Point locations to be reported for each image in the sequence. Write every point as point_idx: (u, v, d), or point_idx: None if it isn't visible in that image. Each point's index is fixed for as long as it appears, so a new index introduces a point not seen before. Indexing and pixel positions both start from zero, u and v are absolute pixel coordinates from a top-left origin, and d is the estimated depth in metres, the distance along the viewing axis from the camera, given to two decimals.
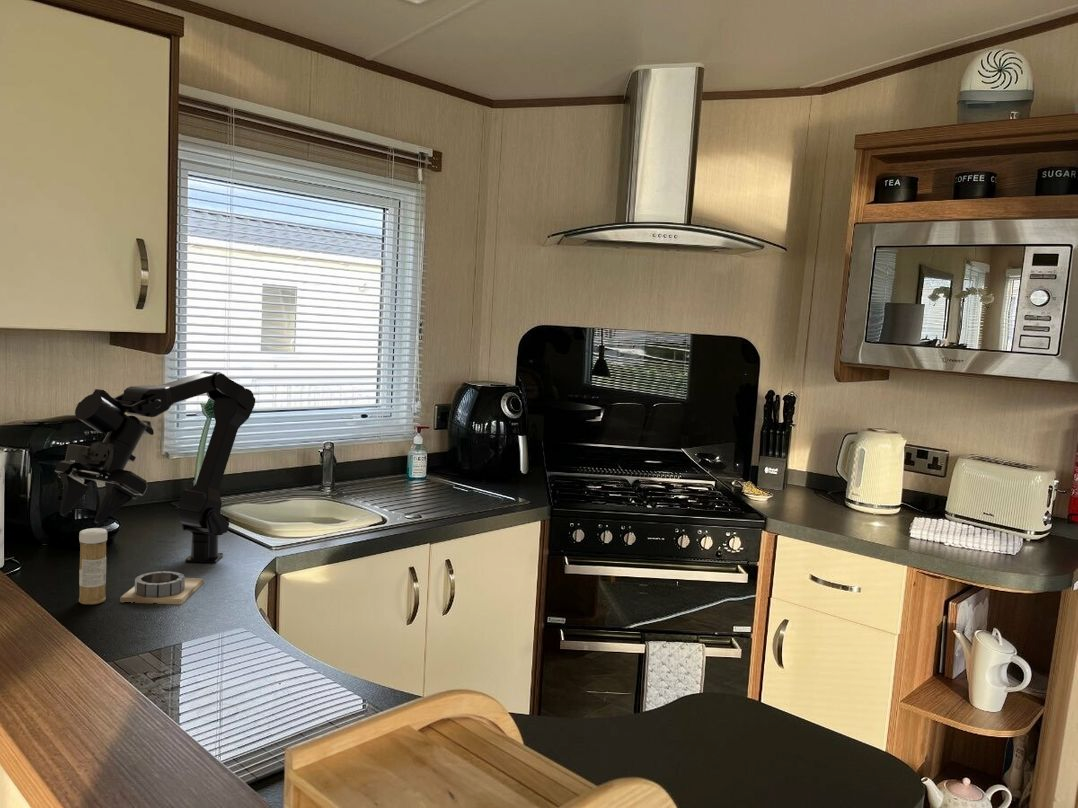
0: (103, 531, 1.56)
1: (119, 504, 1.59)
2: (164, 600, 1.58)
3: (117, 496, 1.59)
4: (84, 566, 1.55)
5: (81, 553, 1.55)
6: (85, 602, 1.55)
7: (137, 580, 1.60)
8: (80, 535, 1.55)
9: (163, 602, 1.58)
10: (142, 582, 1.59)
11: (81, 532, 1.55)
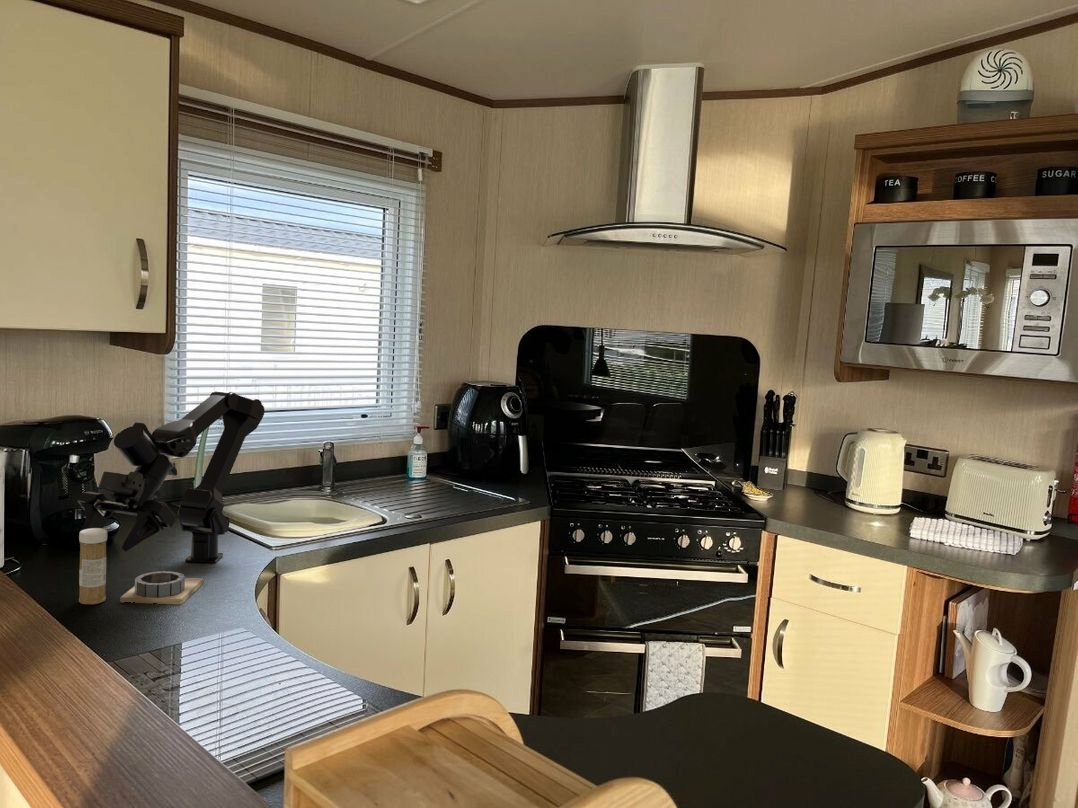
0: (103, 531, 1.56)
1: (146, 535, 1.61)
2: (164, 600, 1.58)
3: (145, 527, 1.61)
4: (84, 566, 1.55)
5: (81, 553, 1.55)
6: (85, 602, 1.55)
7: (137, 580, 1.60)
8: (80, 535, 1.55)
9: (163, 602, 1.58)
10: (142, 582, 1.59)
11: (81, 532, 1.55)
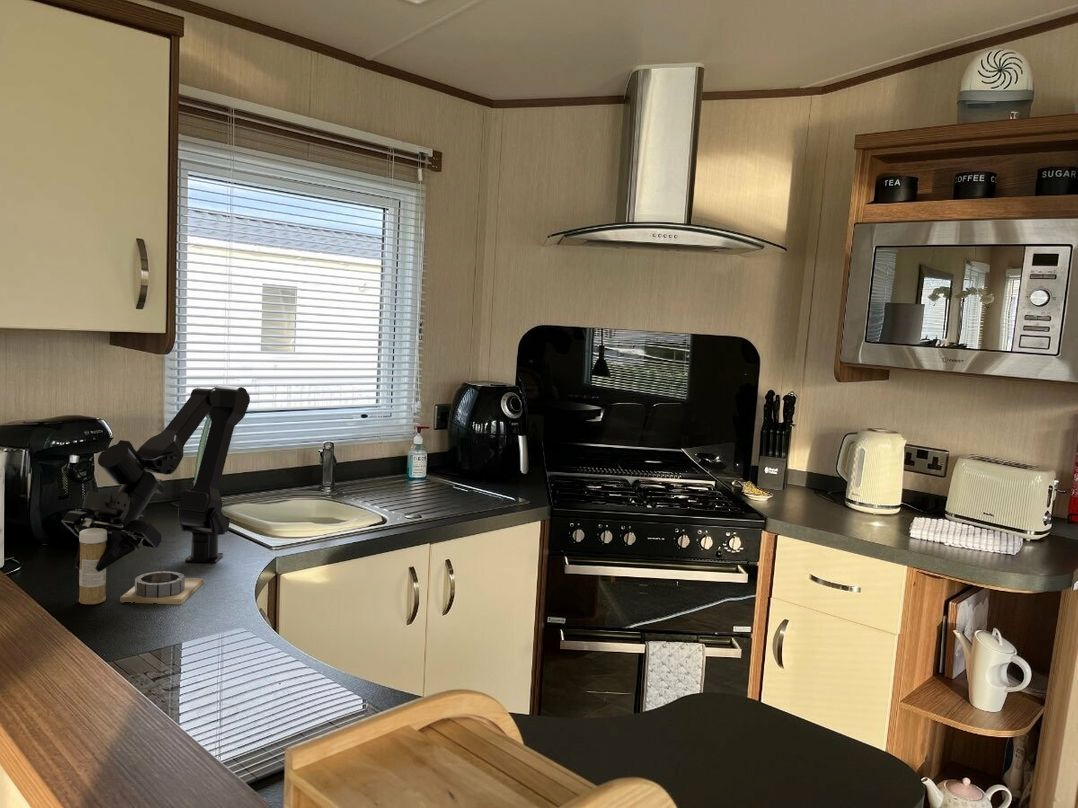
0: (103, 531, 1.56)
1: (121, 554, 1.58)
2: (164, 600, 1.58)
3: (120, 546, 1.58)
4: (84, 566, 1.55)
5: (81, 553, 1.55)
6: (85, 602, 1.55)
7: (137, 580, 1.60)
8: (80, 535, 1.55)
9: (163, 602, 1.58)
10: (142, 582, 1.59)
11: (81, 532, 1.55)
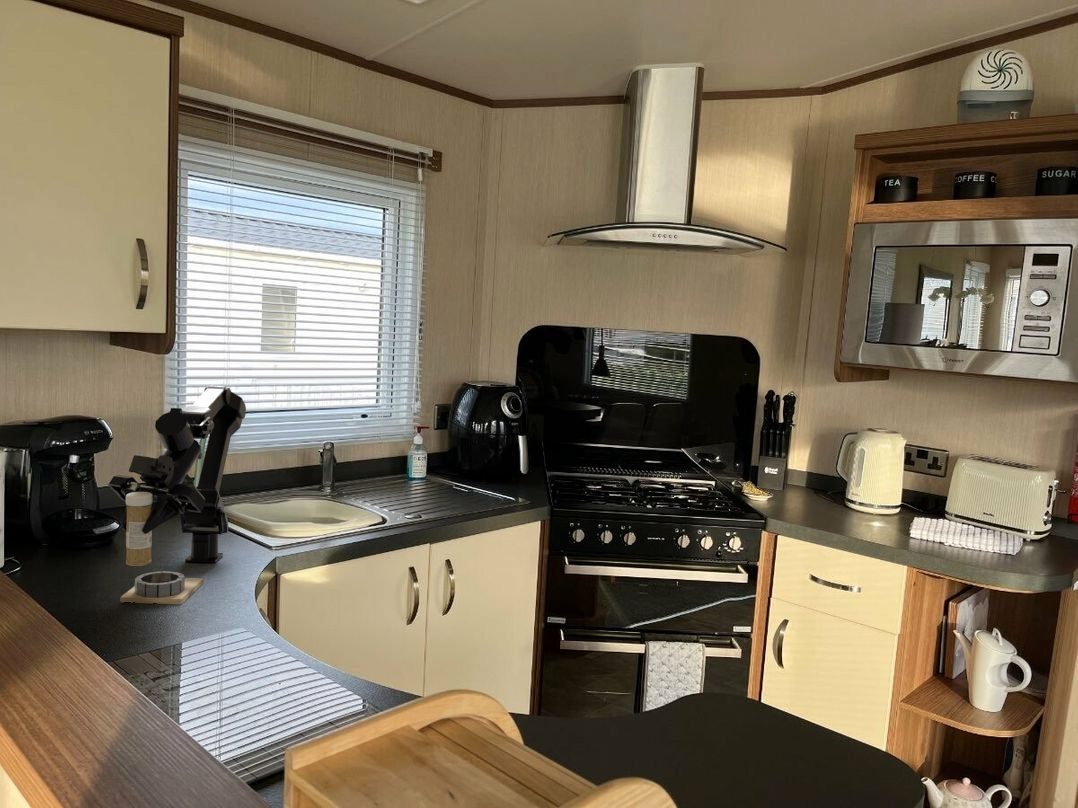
0: (148, 494, 1.59)
1: (166, 517, 1.61)
2: (164, 600, 1.58)
3: (165, 509, 1.62)
4: (131, 528, 1.58)
5: (128, 516, 1.58)
6: (132, 564, 1.59)
7: (137, 580, 1.60)
8: (126, 498, 1.58)
9: (163, 602, 1.58)
10: (142, 582, 1.59)
11: (127, 495, 1.58)
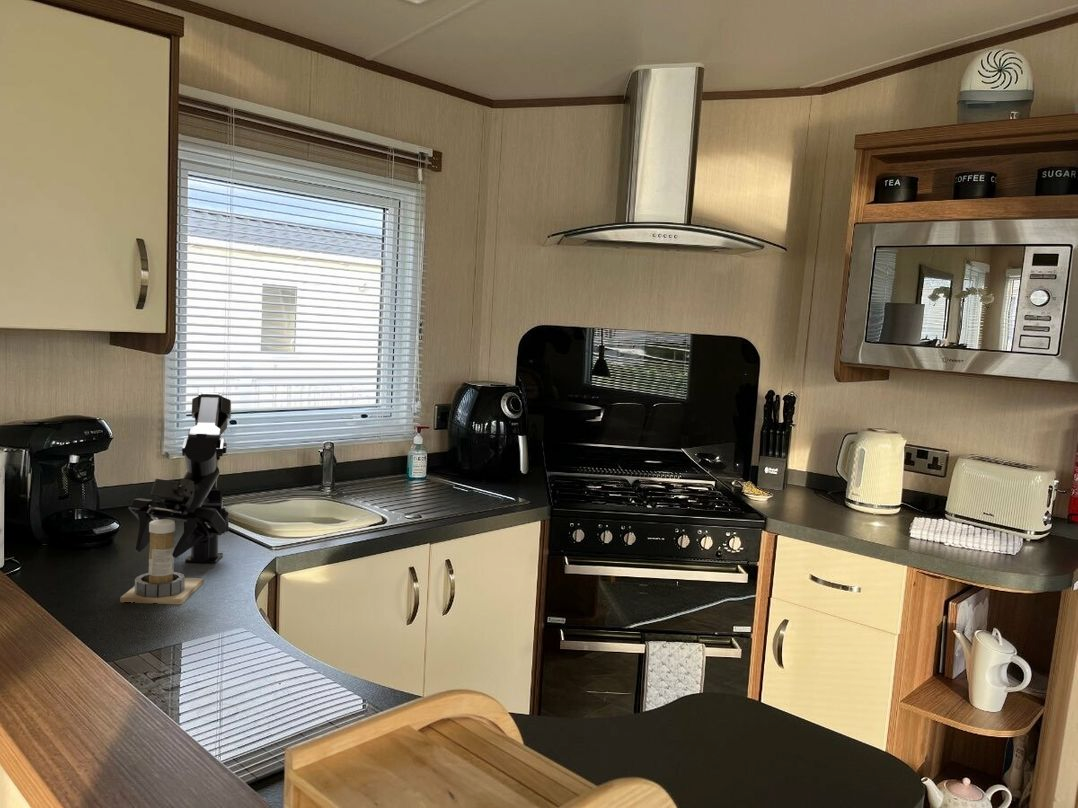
0: (172, 522, 1.62)
1: (195, 541, 1.63)
2: (164, 600, 1.58)
3: (194, 533, 1.63)
4: (154, 555, 1.60)
5: (151, 543, 1.60)
6: None
7: (137, 580, 1.60)
8: (150, 526, 1.60)
9: (163, 602, 1.58)
10: (142, 582, 1.59)
11: (151, 523, 1.60)
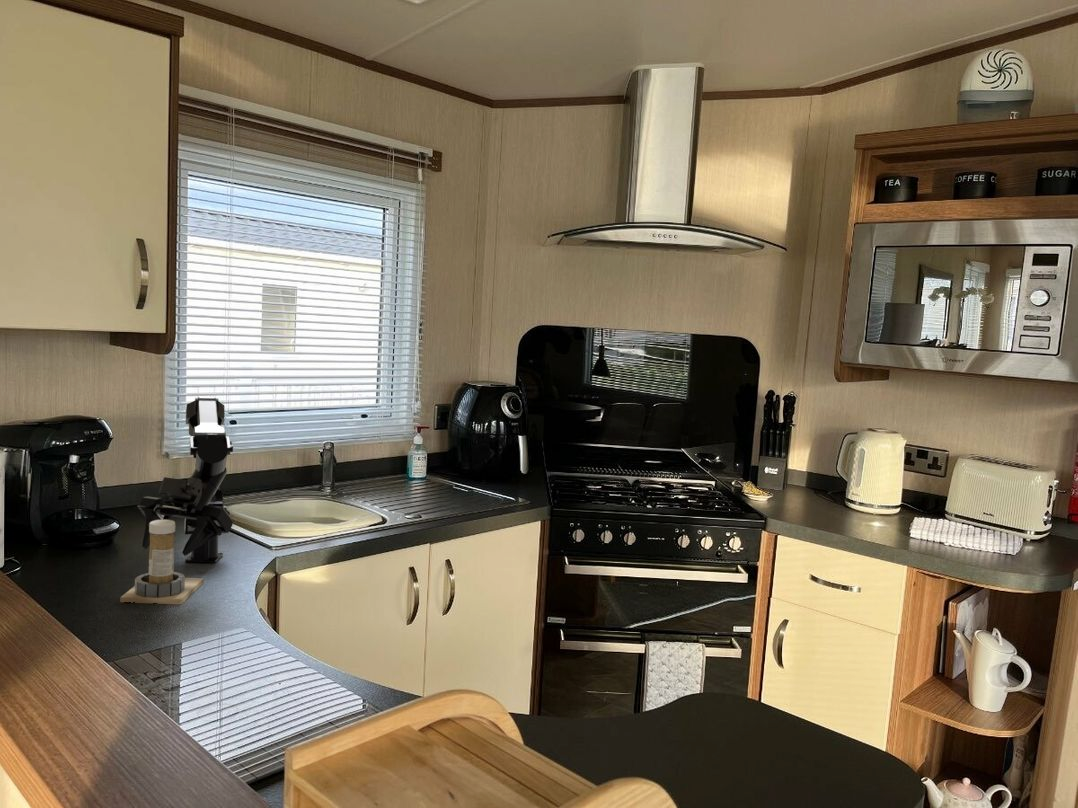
0: (172, 522, 1.62)
1: (205, 539, 1.65)
2: (164, 600, 1.58)
3: (204, 531, 1.65)
4: (154, 556, 1.60)
5: (151, 543, 1.60)
6: None
7: (137, 580, 1.60)
8: (150, 526, 1.60)
9: (163, 602, 1.58)
10: (142, 582, 1.59)
11: (151, 523, 1.60)
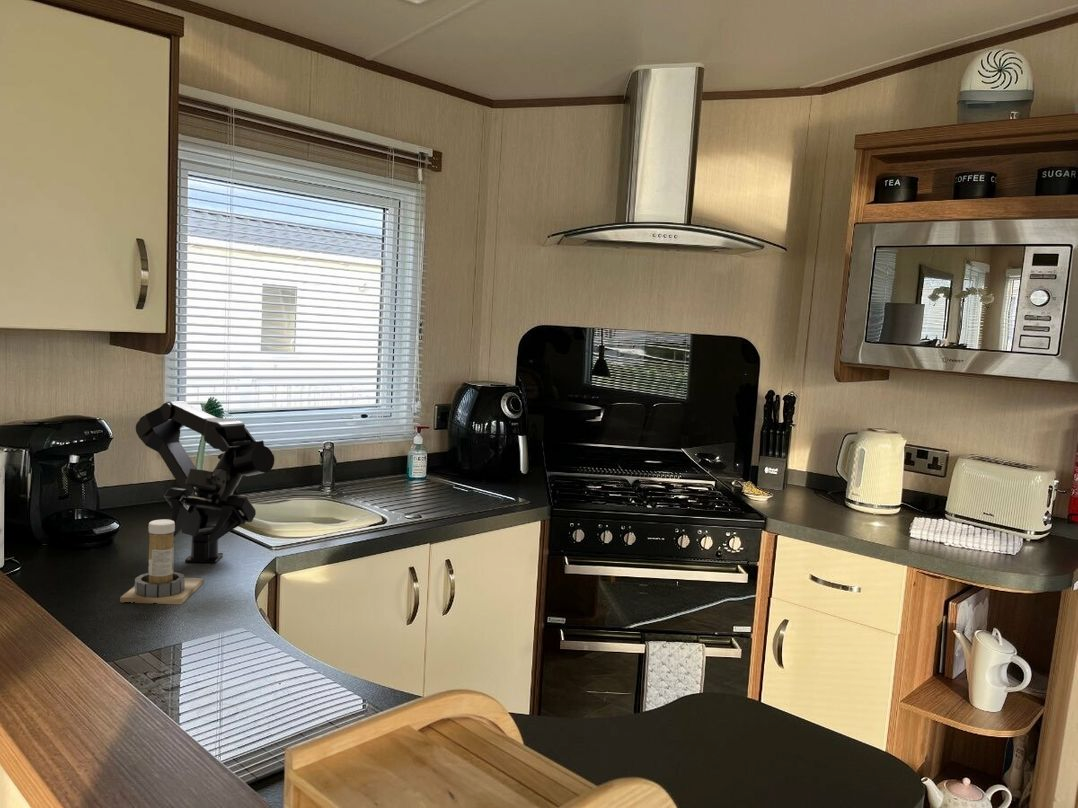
0: (171, 522, 1.62)
1: (229, 528, 1.72)
2: (164, 600, 1.58)
3: (229, 521, 1.72)
4: (154, 556, 1.60)
5: (151, 543, 1.60)
6: None
7: (137, 580, 1.60)
8: (150, 526, 1.60)
9: (163, 602, 1.58)
10: (142, 582, 1.59)
11: (151, 523, 1.60)
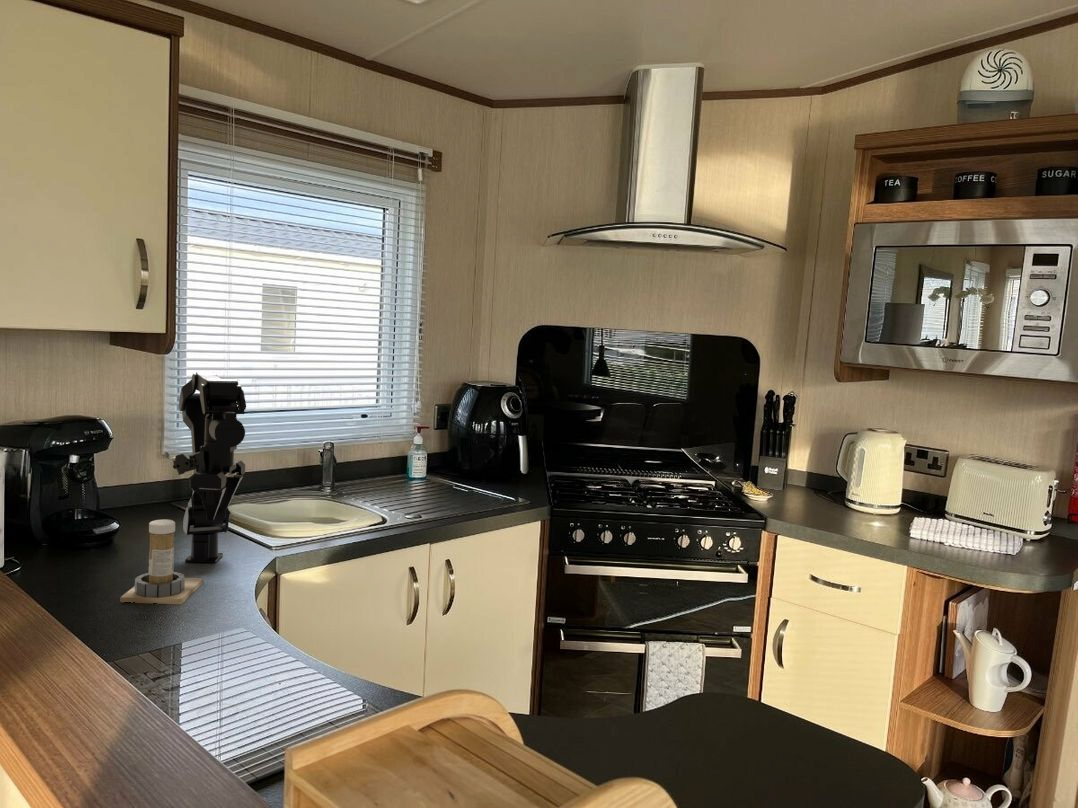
0: (172, 522, 1.62)
1: (216, 500, 1.69)
2: (164, 600, 1.58)
3: (212, 493, 1.69)
4: (154, 556, 1.60)
5: (151, 543, 1.60)
6: None
7: (137, 580, 1.60)
8: (150, 526, 1.60)
9: (163, 602, 1.58)
10: (142, 582, 1.59)
11: (151, 523, 1.60)
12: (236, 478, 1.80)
